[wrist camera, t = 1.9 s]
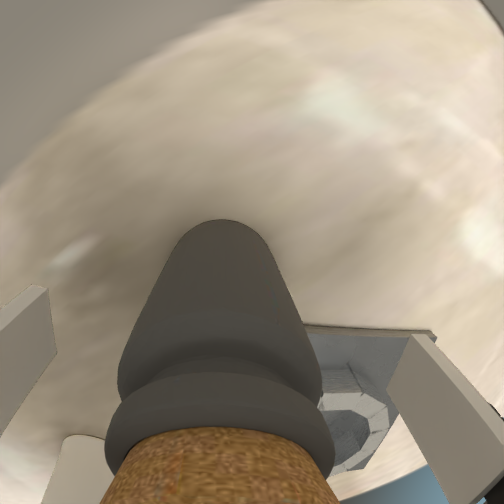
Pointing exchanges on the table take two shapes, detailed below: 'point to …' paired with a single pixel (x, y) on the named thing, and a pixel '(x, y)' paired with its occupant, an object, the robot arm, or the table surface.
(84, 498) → the mug
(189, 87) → the table surface
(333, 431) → the collar plate
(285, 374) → the bottle
